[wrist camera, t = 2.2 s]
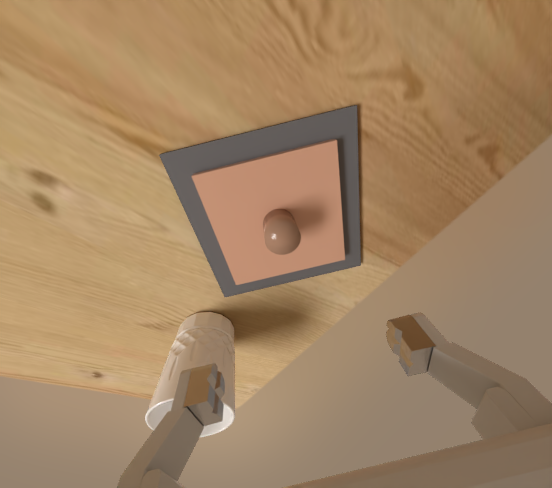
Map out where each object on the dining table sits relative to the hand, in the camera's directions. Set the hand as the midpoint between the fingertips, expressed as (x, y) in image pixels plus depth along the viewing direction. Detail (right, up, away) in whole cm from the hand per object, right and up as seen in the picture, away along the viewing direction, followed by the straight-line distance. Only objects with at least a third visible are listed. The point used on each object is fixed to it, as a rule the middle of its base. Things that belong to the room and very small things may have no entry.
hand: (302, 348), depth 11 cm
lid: (-1, +7, +12) cm, 14 cm away
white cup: (-10, -6, +19) cm, 22 cm away
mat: (-1, +7, +12) cm, 14 cm away
